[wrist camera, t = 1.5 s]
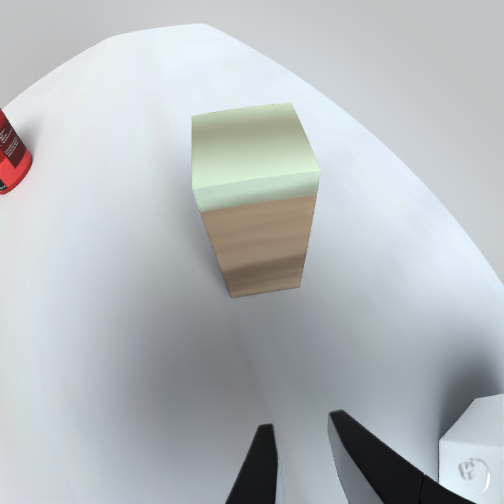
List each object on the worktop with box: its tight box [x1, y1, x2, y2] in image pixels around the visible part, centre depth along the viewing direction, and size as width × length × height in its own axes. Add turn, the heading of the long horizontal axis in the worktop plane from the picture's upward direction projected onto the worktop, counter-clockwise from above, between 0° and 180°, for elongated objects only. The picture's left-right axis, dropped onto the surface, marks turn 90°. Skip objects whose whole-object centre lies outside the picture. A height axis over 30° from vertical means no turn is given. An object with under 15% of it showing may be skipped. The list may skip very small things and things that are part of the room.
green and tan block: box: [192, 103, 321, 298], centre depth 18 cm, size 5×5×12 cm
